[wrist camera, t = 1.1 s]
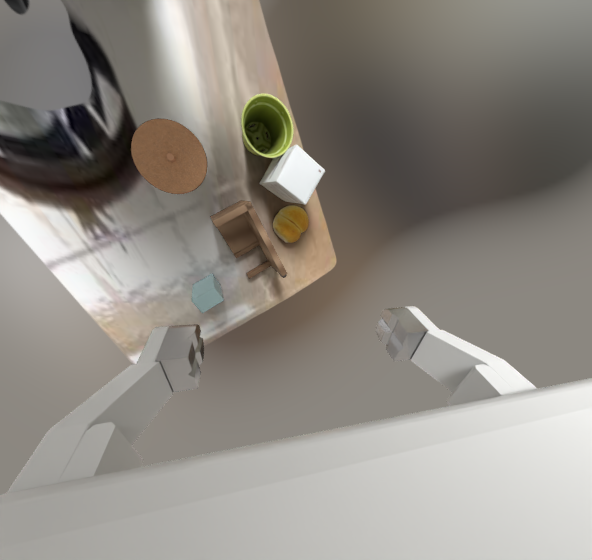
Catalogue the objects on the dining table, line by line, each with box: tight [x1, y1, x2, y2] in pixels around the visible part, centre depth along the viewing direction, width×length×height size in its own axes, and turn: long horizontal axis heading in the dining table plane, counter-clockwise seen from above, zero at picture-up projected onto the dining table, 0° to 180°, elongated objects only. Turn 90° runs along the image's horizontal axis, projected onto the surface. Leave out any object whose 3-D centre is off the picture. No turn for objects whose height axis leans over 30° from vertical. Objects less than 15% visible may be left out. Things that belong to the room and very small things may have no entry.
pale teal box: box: [192, 274, 224, 313], centre depth 48 cm, size 5×5×9 cm
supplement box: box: [259, 145, 325, 204], centre depth 44 cm, size 7×7×13 cm
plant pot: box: [241, 94, 293, 158], centre depth 41 cm, size 9×9×9 cm
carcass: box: [210, 200, 287, 279], centre depth 47 cm, size 18×8×10 cm, turn 26°
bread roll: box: [273, 205, 309, 243], centre depth 53 cm, size 8×9×4 cm
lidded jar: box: [131, 119, 207, 194], centre depth 37 cm, size 11×11×9 cm
